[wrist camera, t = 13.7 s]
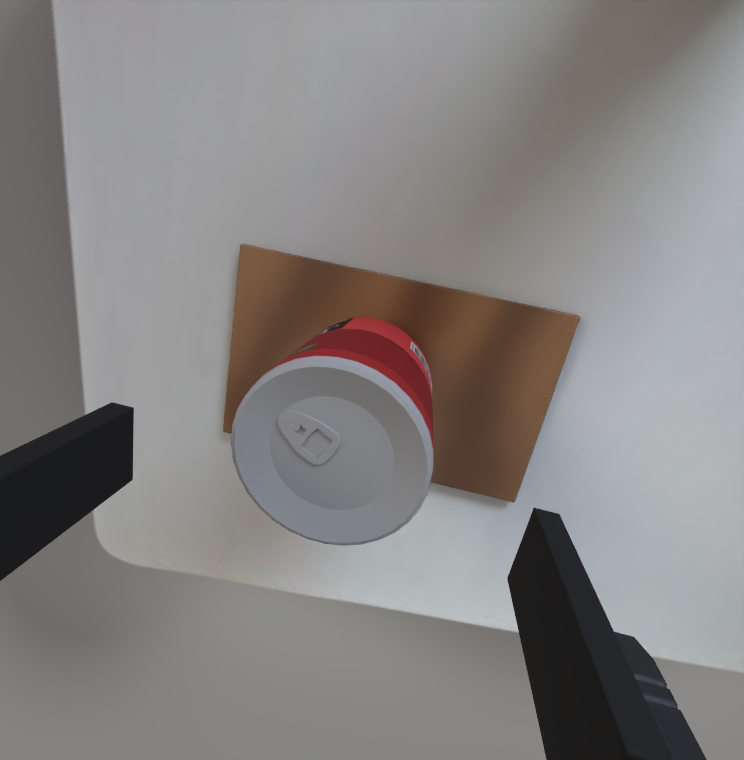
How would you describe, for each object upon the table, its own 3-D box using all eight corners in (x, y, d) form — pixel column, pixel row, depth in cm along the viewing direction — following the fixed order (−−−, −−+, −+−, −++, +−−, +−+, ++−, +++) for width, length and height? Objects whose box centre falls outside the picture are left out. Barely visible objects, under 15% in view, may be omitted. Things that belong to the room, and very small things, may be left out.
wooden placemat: (577, 315, 24) (581, 316, 24) (512, 497, 28) (514, 502, 28) (244, 244, 26) (240, 243, 25) (226, 428, 29) (222, 431, 29)
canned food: (332, 293, 25) (263, 324, 15) (454, 349, 25) (473, 419, 15) (289, 402, 28) (203, 495, 17) (401, 453, 28) (384, 577, 17)
